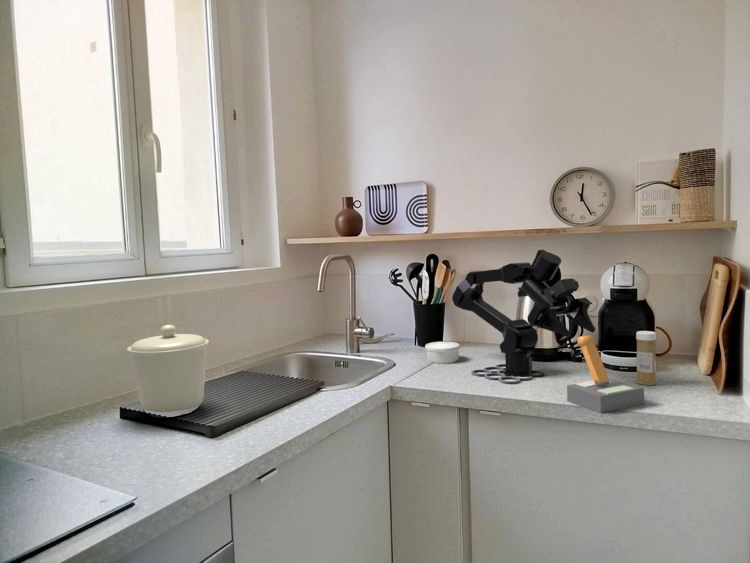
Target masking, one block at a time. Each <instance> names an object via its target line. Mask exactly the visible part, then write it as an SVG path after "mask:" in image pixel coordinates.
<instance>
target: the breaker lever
mask: <svg viewBox="0 0 750 563" xmlns="http://www.w3.org/2000/svg"><path fill="white" fill-rule="evenodd" d="M576 340H577V341H576V342H577V345H578V346H579V347H580V349H581V352H582V354H583V357H584V359H585V362H586V364H587V367H588V370H589V373H590V375H591V377H592V381H594V383H595V385H596V386H600V385H606V384H609V376H608V374H607V371H606V368H605V366H604V363H603V360H602V357H601V356H600V352H599V350H598V348H597V345H596V338H595V337H594V335H592V334H587V335H582V336H581V335H580V336H578V337H577V339H576Z"/></svg>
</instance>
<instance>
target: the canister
mask: <svg viewBox="0 0 750 563" xmlns="http://www.w3.org/2000/svg"><path fill="white" fill-rule="evenodd" d="M159 332H160V335H156V336H150V337H145V338H142V339H139V340H137V341H135V342H134V343H132V345H130V346H128V347H127V348H126V351H127V352H128V353H129V354H130V357H131V363H132V369H133V373H134V374H133V375H134V379H135V383H136V389H137V394H138V398H139V403H140V405H141V406H140V407H141V409H142V408H143V409H145V410H147V411H154V412H171V411H179V410H184V409H189V408H192V407H195V406H197V405H199V404H201V403H202V404H203V401H204V394H205V393H204V392H205V380H206V378H205V377H206V362H207V360H206V359H207V346H208V345H209V344H210V340H209V339H207V338H204V336H201V335H199V334H194V333H193V334H192V333H179V334H178V333H177V327H176V326H175V325H173V324H165V325H163V326H161V328H160V331H159ZM202 404H201V405H202ZM143 409H142V410H143Z"/></svg>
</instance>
